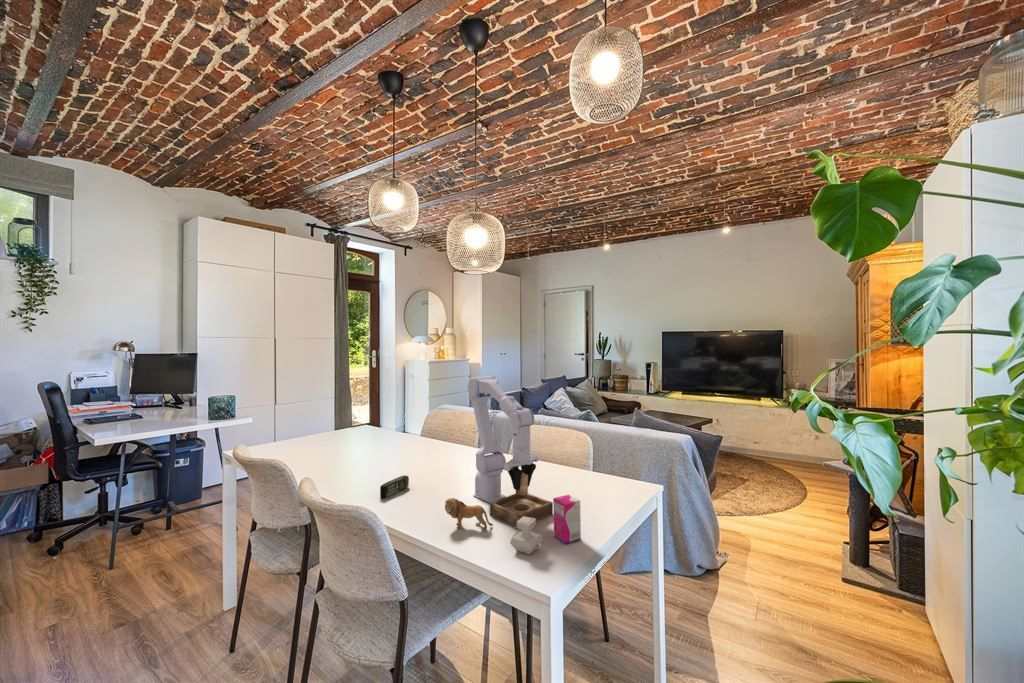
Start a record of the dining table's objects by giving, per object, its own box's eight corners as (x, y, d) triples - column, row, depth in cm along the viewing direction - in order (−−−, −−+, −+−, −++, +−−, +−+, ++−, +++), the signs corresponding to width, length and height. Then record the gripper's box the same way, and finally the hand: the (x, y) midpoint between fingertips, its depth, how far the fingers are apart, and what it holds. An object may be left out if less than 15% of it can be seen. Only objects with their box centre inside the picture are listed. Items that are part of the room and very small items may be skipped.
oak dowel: (513, 492, 134) (513, 474, 134) (521, 489, 137) (521, 471, 137) (521, 496, 131) (521, 477, 131) (530, 493, 134) (530, 474, 134)
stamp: (546, 549, 113) (546, 518, 113) (535, 560, 107) (535, 528, 107) (518, 540, 118) (518, 511, 118) (506, 551, 112) (506, 520, 112)
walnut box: (490, 515, 134) (490, 503, 134) (521, 502, 145) (521, 491, 145) (521, 529, 124) (521, 516, 124) (552, 514, 135) (552, 502, 135)
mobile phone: (384, 486, 147) (412, 473, 161) (378, 485, 148) (406, 471, 162) (384, 500, 147) (412, 485, 161) (378, 498, 149) (406, 484, 162)
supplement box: (569, 531, 123) (569, 493, 123) (581, 540, 118) (581, 500, 118) (552, 536, 120) (553, 497, 120) (564, 545, 115) (564, 504, 115)
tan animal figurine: (443, 531, 123) (443, 501, 123) (445, 523, 128) (445, 495, 128) (492, 530, 123) (492, 501, 123) (492, 522, 129) (492, 494, 129)
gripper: (514, 453, 126) (514, 497, 126) (545, 444, 136) (545, 485, 137) (499, 448, 131) (499, 491, 131) (529, 440, 141) (529, 479, 142)
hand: (521, 487), depth 134 cm, fingers closed on oak dowel, 4 cm apart
